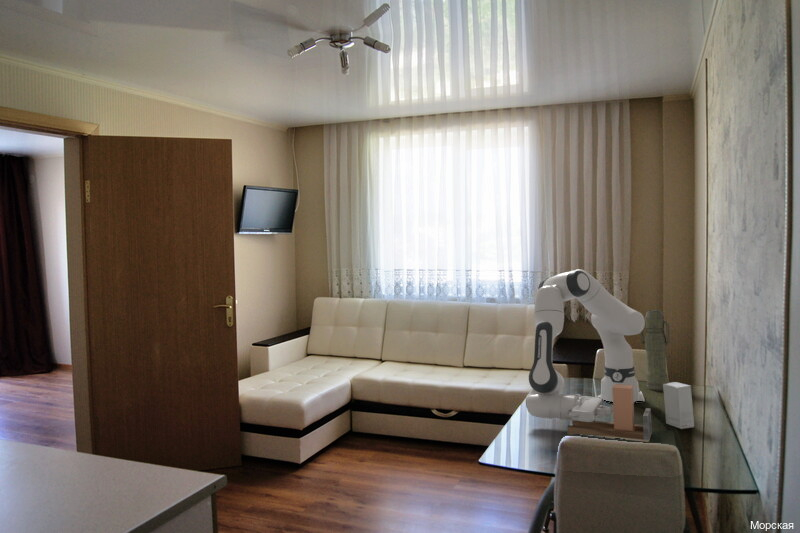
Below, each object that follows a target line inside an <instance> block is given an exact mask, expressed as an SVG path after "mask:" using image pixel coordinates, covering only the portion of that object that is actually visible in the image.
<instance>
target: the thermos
mask: <svg viewBox="0 0 800 533" xmlns="http://www.w3.org/2000/svg"><path fill="white" fill-rule="evenodd" d="M663 314H664V313H663V312H662V311H661V310H660V309H659V310H658V309H649V310H648V311H646V314H645V316H644V320H645V336H644V329H643V330H642V332H641V333H640V339H641V344H642V345H644V349H645V351H646V354H645V355H646V372H647V373H646V374H645V379H646V380H645V382H646V389H647V390H649V391H658V392H660V391H661V392H664V391H663V384H666V383H669V377H668V373H667V359H666V356H667V354H666V351H667V345H669V344H670V343H671V342H670V340H671V339H670V324H669V322H668V321H667V320H665V318H664V315H663ZM665 325H666V334H665V330H664V328H665Z"/></svg>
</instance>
